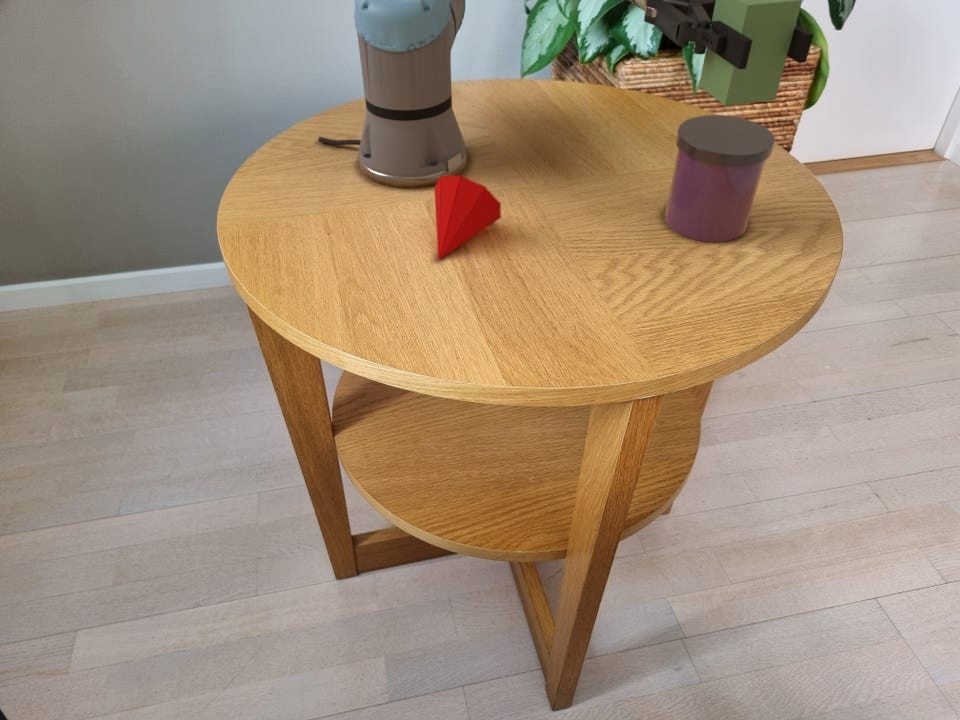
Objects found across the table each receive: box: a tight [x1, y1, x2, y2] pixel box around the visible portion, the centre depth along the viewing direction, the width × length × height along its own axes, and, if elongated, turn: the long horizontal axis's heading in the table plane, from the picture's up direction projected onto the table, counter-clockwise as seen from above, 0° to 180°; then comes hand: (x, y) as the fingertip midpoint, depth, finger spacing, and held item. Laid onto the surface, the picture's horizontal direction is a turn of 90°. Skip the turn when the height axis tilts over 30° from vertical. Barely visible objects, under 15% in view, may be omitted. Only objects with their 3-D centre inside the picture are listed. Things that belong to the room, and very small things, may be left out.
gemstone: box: [434, 174, 502, 261], centre depth 83 cm, size 9×9×10 cm
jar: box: [664, 114, 776, 243], centre depth 84 cm, size 11×11×11 cm
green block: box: [698, 0, 803, 107], centre depth 74 cm, size 6×6×10 cm
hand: (776, 51), depth 70 cm, fingers closed on green block, 6 cm apart
